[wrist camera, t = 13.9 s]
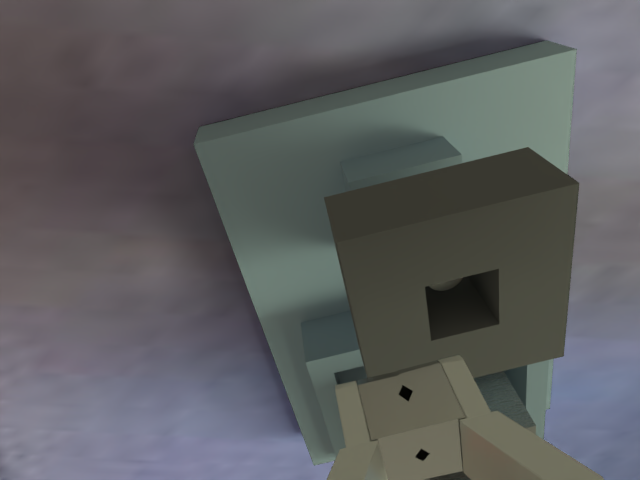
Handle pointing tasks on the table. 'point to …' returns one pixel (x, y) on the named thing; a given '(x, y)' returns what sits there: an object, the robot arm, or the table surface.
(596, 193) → the table surface
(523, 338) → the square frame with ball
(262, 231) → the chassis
